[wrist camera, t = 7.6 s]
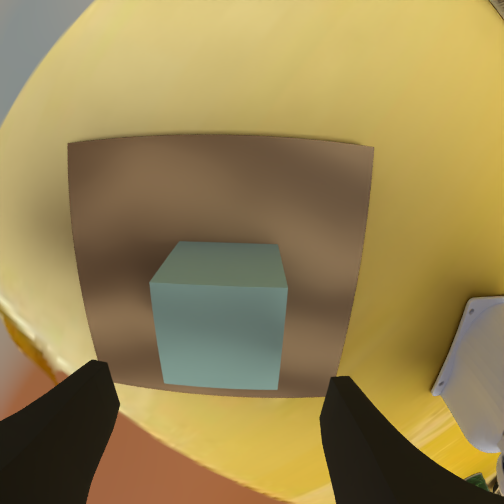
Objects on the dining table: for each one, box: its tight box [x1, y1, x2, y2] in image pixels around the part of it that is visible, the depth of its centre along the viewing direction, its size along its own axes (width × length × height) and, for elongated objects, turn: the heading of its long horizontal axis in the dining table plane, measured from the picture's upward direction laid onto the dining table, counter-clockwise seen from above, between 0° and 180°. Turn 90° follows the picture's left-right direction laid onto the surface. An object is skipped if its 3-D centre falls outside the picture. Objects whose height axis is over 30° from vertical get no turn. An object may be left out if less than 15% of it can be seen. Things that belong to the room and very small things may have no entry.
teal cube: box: [149, 241, 288, 390], centre depth 14 cm, size 5×5×5 cm
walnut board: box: [68, 135, 374, 398], centre depth 17 cm, size 16×16×2 cm
